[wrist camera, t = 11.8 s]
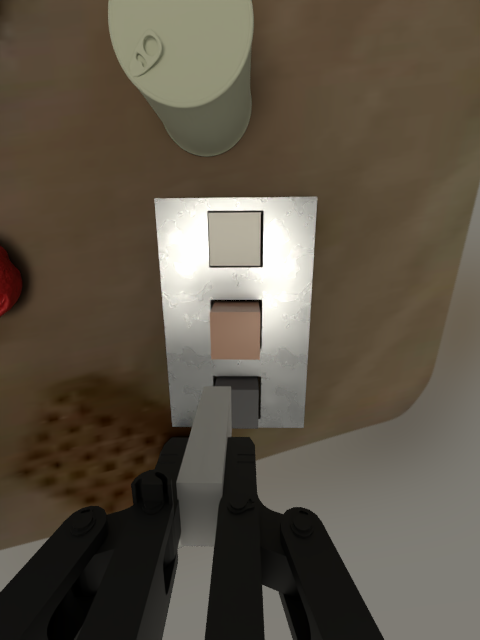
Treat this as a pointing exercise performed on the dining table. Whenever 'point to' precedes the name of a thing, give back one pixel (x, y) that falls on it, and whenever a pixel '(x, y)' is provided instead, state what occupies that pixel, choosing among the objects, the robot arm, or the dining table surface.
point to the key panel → (238, 284)
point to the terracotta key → (235, 330)
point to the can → (189, 65)
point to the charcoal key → (242, 399)
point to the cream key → (234, 239)
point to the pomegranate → (8, 283)
